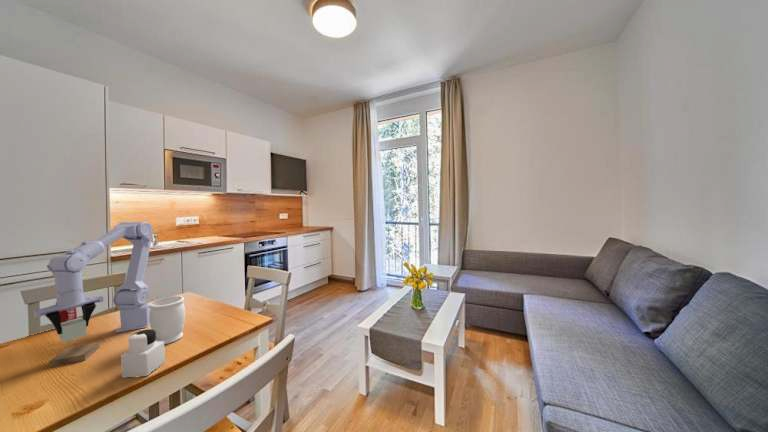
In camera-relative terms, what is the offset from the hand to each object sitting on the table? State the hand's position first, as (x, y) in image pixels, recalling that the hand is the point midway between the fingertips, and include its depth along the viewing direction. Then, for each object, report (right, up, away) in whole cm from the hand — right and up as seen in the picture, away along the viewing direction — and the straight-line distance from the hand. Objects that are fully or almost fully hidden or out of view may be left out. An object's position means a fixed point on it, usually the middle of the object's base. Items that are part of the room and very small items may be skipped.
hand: (73, 329), depth 85 cm
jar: (+23, -9, +11) cm, 27 cm away
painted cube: (0, -3, 0) cm, 3 cm away
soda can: (-30, -9, +22) cm, 38 cm away
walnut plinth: (0, -9, 0) cm, 9 cm away
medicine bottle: (+30, -10, -6) cm, 33 cm away
